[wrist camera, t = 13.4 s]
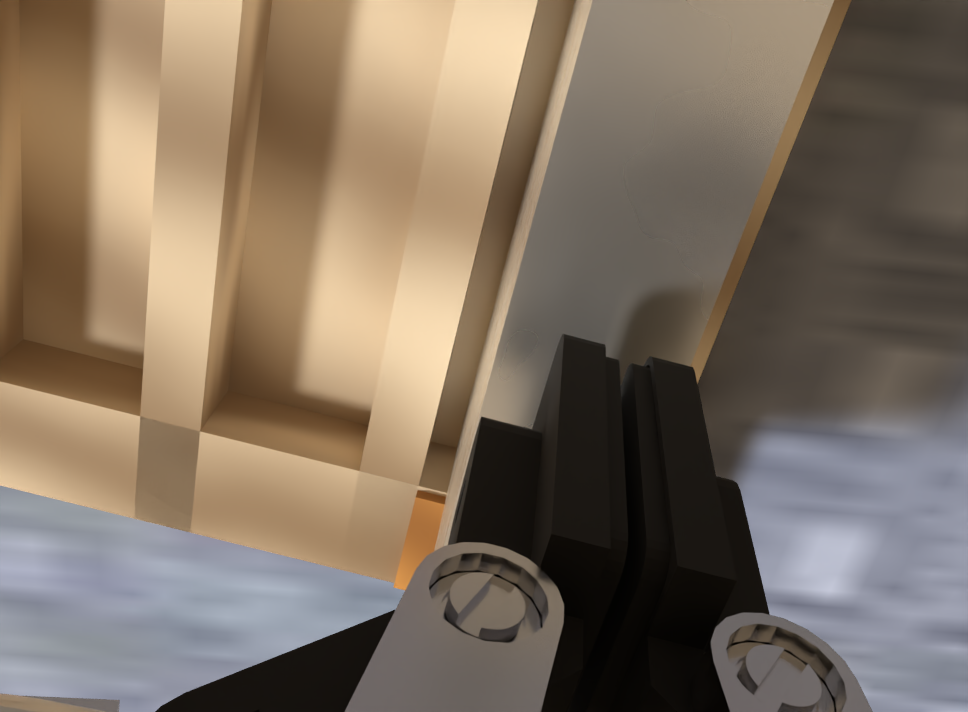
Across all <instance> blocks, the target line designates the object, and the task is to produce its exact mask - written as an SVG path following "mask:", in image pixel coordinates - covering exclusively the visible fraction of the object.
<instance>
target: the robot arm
mask: <svg viewBox="0 0 968 712" xmlns="http://www.w3.org/2000/svg"><path fill="white" fill-rule="evenodd" d="M119 703H120V700H106V699H83V698H60V697H36V696H18V695H9V694H0V712H119ZM156 712H873V711H872V709H871V707H870V705H869V703H868V701H867V699H866V697H865V695H864V693H863V691H862V689H861V687H860V685H859V683H858V681H857V679H856V677H855V676H854V674H853V673H852V671H851V670H850V668H849V667H848V665H847V664H846V662H845V661H844V660H843V659H842V658H841V657H840V656H839V655H838V654H837V653H836V652H835V651H834V650H833V649H832V648H831V647H830V646H829V645H828V644H827V643H826V642H824V641H823V640H822V639H820V638H819V637H817V636H816V635H814V634H813V633H812V632H810V631H809V630H807V629H805V628H803V627H801V626H799V625H797V624H795V623H793V622H791V621H788V620H786V619H784V618H780V617H776V616H772V615H770V614H769V610H768V606H767V602H766V597H765V593H764V589H763V585H762V580H761V576H760V572H759V568H758V563H757V559H756V555H755V551H754V547H753V542H752V538H751V534H750V530H749V525H748V521H747V517H746V513H745V508H744V504H743V500H742V496H741V491H740V489H739V486H738V484H737V483H736V482H734V481H733V480H729V479H725V478H721V477H717V476H716V475H715V470H714V465H713V460H712V455H711V450H710V445H709V440H708V435H707V430H706V425H705V420H704V415H703V410H702V405H701V400H700V395H699V390H698V385H697V380H696V375H695V370H694V368H693V367H690V366H687V365H683V364H679V363H675V362H671V361H667V360H663V359H659V358H655V357H651V356H650V357H649V358H648V359H647V360H646V362H645V364H644V366H641V365H637V364H633V363H631V364H630V365H629V366H628V368H627V370H626V373H625V375H624V378H623V381H622V384H621V385H620V366H619V360H618V359H614V358H610V357H606V347H605V344H601V343H597V342H593V341H589V340H585V339H581V338H578V337H574V336H570V335H566V334H562V336H561V338H560V341H559V343H558V346H557V349H556V352H555V356H554V359H553V362H552V365H551V369H550V372H549V375H548V379H547V382H546V385H545V388H544V392H543V395H542V398H541V401H540V405H539V408H538V411H537V414H536V418H535V421H534V424H533V427H532V429H529V428H525V427H521V426H517V425H513V424H509V423H505V422H501V421H497V420H494V419H490V418H486V417H482V416H481V418H480V421H479V425H478V428H477V431H476V435H475V439H474V442H473V446H472V449H471V453H470V457H469V460H468V464H467V468H466V472H465V475H464V479H463V483H462V487H461V491H460V495H459V499H458V503H457V507H456V511H455V515H454V519H453V523H452V528H451V532H450V537H449V541H448V545H447V546H443V547H441V548H439V549H438V550H436V551H434V552H432V553H430V554H429V555H427V556H426V557H425V558H424V560H423V561H422V562H421V563H420V565H419V566H418V567H417V568H416V570H415V572H414V574H413V576H412V578H411V580H410V582H409V584H408V586H407V588H406V590H405V592H404V594H403V596H402V598H401V600H400V602H399V604H398V606H397V608H396V610H393V611H391V612H388V613H386V614H383V615H381V616H378V617H375V618H373V619H370V620H368V621H365V622H363V623H360V624H358V625H355V626H353V627H350V628H348V629H345V630H343V631H340V632H338V633H335V634H333V635H330V636H327V637H325V638H322V639H320V640H317V641H315V642H312V643H310V644H307V645H305V646H302V647H300V648H297V649H295V650H292V651H290V652H287V653H285V654H282V655H279V656H277V657H274V658H272V659H269V660H267V661H264V662H262V663H259V664H257V665H254V666H252V667H249V668H247V669H244V670H242V671H239V672H237V673H234V674H231V675H229V676H226V677H224V678H221V679H219V680H216V681H214V682H211V683H209V684H206V685H204V686H201V687H199V688H196V689H194V690H191V691H189V692H186V693H184V694H182V695H180V696H179V697H177V698H175V699H173V700H171V701H170V702H168V703H166V704H164V705H162V706H161V707H160V708H159V709H158V710H157V711H156Z"/></svg>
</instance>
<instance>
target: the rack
mask: <svg viewBox="0 0 968 712" xmlns="http://www.w3.org/2000/svg"><path fill="white" fill-rule="evenodd" d="M850 3H851V0H834V2H833V5H832V7H831V10H830V12H829V15H828V17H827V20H826V22H825V25H824V28H823V30H822V33H821V35H820V38H819V40H818V43H817V45H816V48H815V50H814V53H813V55H812V58H811V61H810V63H809V66H808V68H807V71H806V73H805V76H804V78H803V81H802V83H801V86H800V89H799V91H798V94H797V96H796V99H795V101H794V104H793V106H792V109H791V111H790V114H789V117H788V119H787V122H786V124H785V127H784V129H783V132H782V134H781V137H780V139H779V142H778V144H777V147H776V150H775V152H774V155H773V157H772V160H771V162H770V165H769V167H768V170H767V172H766V175H765V178H764V180H763V183H762V185H761V188H760V190H759V193H758V195H757V198H756V200H755V203H754V206H753V208H752V211H751V213H750V216H749V218H748V221H747V223H746V226H745V228H744V231H743V233H742V236H741V239H740V241H739V244H738V246H737V249H736V251H735V254H734V256H733V259H732V261H731V264H730V267H729V269H728V272H727V274H726V277H725V279H724V282H723V284H722V287H721V289H720V292H719V295H718V297H717V300H716V302H715V305H714V307H713V310H712V312H711V315H710V317H709V320H708V323H707V325H706V328H705V330H704V333H703V335H702V338H701V340H700V343H699V345H698V348H697V350H696V353H695V356H694V358H693V361H692V363H691V366H690V367H693V368H694V370H695V375H696V380H697V384H698V381H699V379H700V376H701V374H702V371H703V369H704V366H705V364H706V361H707V359H708V356H709V354H710V351H711V349H712V346H713V344H714V341H715V339H716V336H717V334H718V332H719V329H720V327H721V324H722V322H723V319H724V317H725V314H726V312H727V309H728V307H729V304H730V302H731V299H732V297H733V294H734V292H735V289H736V287H737V284H738V282H739V279H740V277H741V274H742V272H743V269H744V267H745V264H746V262H747V259H748V257H749V254H750V252H751V249H752V247H753V244H754V242H755V239H756V237H757V234H758V232H759V229H760V227H761V224H762V222H763V219H764V217H765V214H766V212H767V209H768V207H769V204H770V202H771V199H772V197H773V194H774V192H775V189H776V187H777V184H778V182H779V179H780V177H781V175H782V172H783V170H784V167H785V165H786V162H787V160H788V157H789V155H790V152H791V150H792V147H793V145H794V142H795V140H796V137H797V135H798V132H799V130H800V127H801V125H802V122H803V120H804V117H805V115H806V112H807V110H808V107H809V105H810V102H811V100H812V97H813V95H814V92H815V90H816V87H817V85H818V82H819V80H820V77H821V75H822V72H823V70H824V67H825V65H826V62H827V60H828V57H829V55H830V52H831V50H832V47H833V45H834V42H835V40H836V37H837V35H838V32H839V30H840V27H841V25H842V22H843V20H844V18H845V15H846V13H847V10H848V8H849V5H850ZM573 4H574V0H0V485H1V486H5V487H9V488H13V489H17V490H21V491H25V492H29V493H33V494H37V495H41V496H45V497H49V498H54V499H58V500H62V501H66V502H70V503H74V504H78V505H82V506H86V507H90V508H94V509H98V510H102V511H106V512H110V513H114V514H118V515H122V516H126V517H130V518H134V519H138V520H142V521H146V522H151V523H155V524H159V525H163V526H167V527H171V528H175V529H179V530H183V531H187V532H191V533H195V534H199V535H203V536H207V537H211V538H215V539H219V540H223V541H227V542H231V543H235V544H239V545H243V546H248V547H252V548H256V549H260V550H264V551H268V552H272V553H276V554H280V555H284V556H288V557H292V558H296V559H300V560H304V561H308V562H312V563H316V564H320V565H324V566H328V567H332V568H336V569H340V570H344V571H349V572H353V573H357V574H361V575H365V576H369V577H373V578H377V579H381V580H385V581H389V582H393V583H395V584H394V588H398V589H402V590H406V588H407V586H408V584H409V582H410V580H411V578H412V576H413V574H414V572H415V570H416V568H417V567H418V566H419V565H420V563H421V562H422V561H423V560H424V558H425V557H426V556H427V555H429V554H430V553H432V552H434V549H435V545H436V540H437V536H438V531H439V527H440V522H441V518H442V513H443V509H444V505H445V500H446V496H447V491H448V487H449V482H450V478H451V473H452V469H453V465H454V460H455V456H456V451H457V447H458V442H459V438H460V433H461V429H462V425H463V421H464V417H465V413H466V409H467V406H468V402H469V398H470V394H471V391H472V387H473V383H474V379H475V375H476V372H477V368H478V364H479V360H480V356H481V353H482V349H483V345H484V341H485V337H486V334H487V330H488V326H489V322H490V319H491V315H492V311H493V307H494V303H495V300H496V296H497V292H498V288H499V284H500V281H501V277H502V273H503V269H504V266H505V262H506V258H507V254H508V250H509V247H510V243H511V239H512V235H513V231H514V228H515V224H516V220H517V216H518V212H519V209H520V205H521V201H522V197H523V194H524V190H525V186H526V182H527V178H528V175H529V171H530V167H531V163H532V159H533V156H534V152H535V148H536V144H537V141H538V137H539V133H540V129H541V125H542V122H543V118H544V114H545V110H546V106H547V103H548V99H549V95H550V91H551V88H552V84H553V80H554V76H555V72H556V69H557V65H558V61H559V57H560V53H561V50H562V46H563V42H564V38H565V34H566V31H567V27H568V23H569V19H570V16H571V12H572V8H573Z"/></svg>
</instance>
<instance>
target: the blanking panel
mask: <svg viewBox="0 0 968 712" xmlns="http://www.w3.org/2000/svg"><path fill="white" fill-rule="evenodd" d="M833 2H834V0H574V4H573V8H572V12H571V16H570V19H569V23H568V27H567V31H566V34H565V38H564V42H563V46H562V50H561V53H560V57H559V61H558V65H557V69H556V72H555V76H554V80H553V84H552V88H551V91H550V95H549V99H548V103H547V106H546V110H545V114H544V118H543V122H542V125H541V129H540V133H539V137H538V141H537V144H536V148H535V152H534V156H533V159H532V163H531V167H530V171H529V175H528V178H527V182H526V186H525V190H524V194H523V197H522V201H521V205H520V209H519V212H518V216H517V220H516V224H515V228H514V231H513V235H512V239H511V243H510V247H509V250H508V254H507V258H506V262H505V266H504V269H503V273H502V277H501V281H500V284H499V288H498V292H497V296H496V300H495V303H494V307H493V311H492V315H491V319H490V322H489V326H488V330H487V334H486V337H485V341H484V345H483V349H482V353H481V356H480V360H479V364H478V368H477V372H476V375H475V379H474V383H473V387H472V391H471V394H470V398H469V402H468V406H467V409H466V413H465V417H464V421H463V425H462V429H461V433H460V438H459V442H458V447H457V451H456V456H455V460H454V465H453V469H452V473H451V478H450V482H449V487H448V491H447V496H446V500H445V505H444V509H443V513H442V518H441V522H440V527H439V531H438V536H437V540H436V545H435V549H434V551H436V550H438V549H439V548H441V547H443V546H447V545H448V541H449V537H450V532H451V528H452V523H453V519H454V515H455V511H456V507H457V503H458V499H459V495H460V491H461V487H462V483H463V479H464V475H465V472H466V468H467V464H468V460H469V457H470V453H471V449H472V446H473V442H474V439H475V435H476V431H477V428H478V425H479V421H480V418H481V416H482V417H486V418H490V419H494V420H497V421H501V422H505V423H509V424H513V425H517V426H521V427H525V428H529V429H532V427H533V424H534V421H535V418H536V414H537V411H538V408H539V405H540V401H541V398H542V395H543V392H544V388H545V385H546V382H547V379H548V375H549V372H550V369H551V365H552V362H553V359H554V356H555V352H556V349H557V346H558V343H559V341H560V338H561V336H562V334H566V335H570V336H574V337H578V338H581V339H585V340H589V341H593V342H597V343H601V344H605V347H606V357H610V358H614V359H618V360H619V366H620V385H621V384H622V381H623V378H624V375H625V373H626V370H627V368H628V366H629V365H630V364H631V363H633V364H637V365H641V366H644V364H645V362H646V360H647V359H648V358H649V357H650V356H651V357H655V358H659V359H663V360H667V361H671V362H675V363H679V364H683V365H687V366H691V363H692V361H693V358H694V356H695V353H696V350H697V348H698V345H699V343H700V340H701V338H702V335H703V333H704V330H705V328H706V325H707V323H708V320H709V317H710V315H711V312H712V310H713V307H714V305H715V302H716V300H717V297H718V295H719V292H720V289H721V287H722V284H723V282H724V279H725V277H726V274H727V272H728V269H729V267H730V264H731V261H732V259H733V256H734V254H735V251H736V249H737V246H738V244H739V241H740V239H741V236H742V233H743V231H744V228H745V226H746V223H747V221H748V218H749V216H750V213H751V211H752V208H753V206H754V203H755V200H756V198H757V195H758V193H759V190H760V188H761V185H762V183H763V180H764V178H765V175H766V172H767V170H768V167H769V165H770V162H771V160H772V157H773V155H774V152H775V150H776V147H777V144H778V142H779V139H780V137H781V134H782V132H783V129H784V127H785V124H786V122H787V119H788V117H789V114H790V111H791V109H792V106H793V104H794V101H795V99H796V96H797V94H798V91H799V89H800V86H801V83H802V81H803V78H804V76H805V73H806V71H807V68H808V66H809V63H810V61H811V58H812V55H813V53H814V50H815V48H816V45H817V43H818V40H819V38H820V35H821V33H822V30H823V28H824V25H825V22H826V20H827V17H828V15H829V12H830V10H831V7H832V5H833Z"/></svg>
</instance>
